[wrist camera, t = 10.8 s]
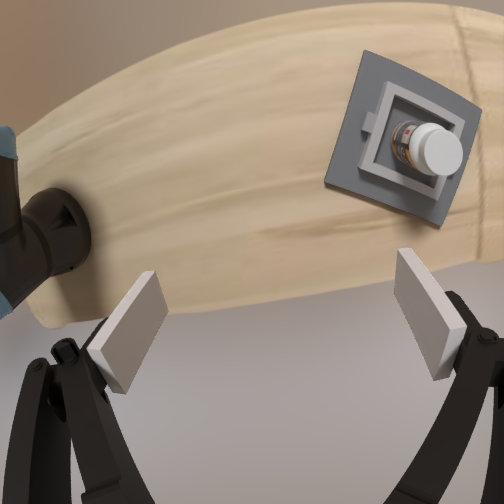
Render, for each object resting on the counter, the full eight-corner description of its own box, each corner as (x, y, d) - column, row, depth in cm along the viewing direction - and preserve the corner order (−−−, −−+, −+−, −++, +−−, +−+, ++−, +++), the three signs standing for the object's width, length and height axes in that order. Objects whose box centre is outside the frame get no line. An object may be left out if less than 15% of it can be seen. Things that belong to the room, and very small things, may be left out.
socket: (323, 180, 38) (326, 185, 35) (363, 51, 30) (368, 46, 27) (438, 224, 38) (446, 231, 35) (478, 109, 30) (489, 110, 27)
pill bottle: (382, 151, 34) (409, 164, 25) (400, 112, 32) (432, 113, 23) (418, 172, 34) (452, 191, 25) (436, 134, 32) (474, 143, 23)
